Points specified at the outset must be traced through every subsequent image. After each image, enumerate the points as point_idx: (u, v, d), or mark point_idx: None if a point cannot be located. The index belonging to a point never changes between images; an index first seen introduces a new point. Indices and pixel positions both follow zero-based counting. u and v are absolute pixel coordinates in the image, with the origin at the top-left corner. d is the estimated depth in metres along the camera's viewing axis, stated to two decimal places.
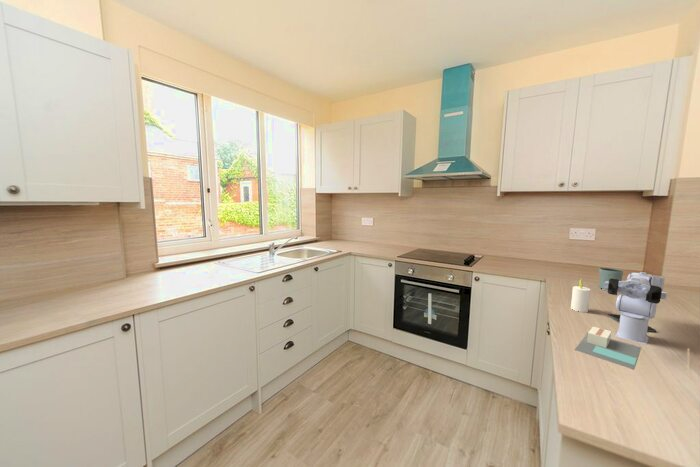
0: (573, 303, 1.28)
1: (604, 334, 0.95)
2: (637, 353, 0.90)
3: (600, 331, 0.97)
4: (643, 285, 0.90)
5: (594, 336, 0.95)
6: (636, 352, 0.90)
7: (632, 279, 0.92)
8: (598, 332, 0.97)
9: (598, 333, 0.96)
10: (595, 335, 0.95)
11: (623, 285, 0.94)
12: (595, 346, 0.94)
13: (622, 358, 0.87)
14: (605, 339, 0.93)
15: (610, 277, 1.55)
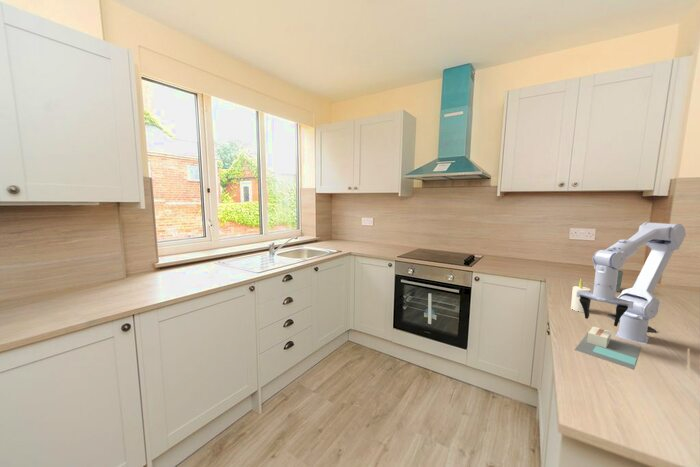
0: (573, 303, 1.28)
1: (604, 334, 0.95)
2: (637, 353, 0.90)
3: (600, 331, 0.97)
4: None
5: (594, 336, 0.95)
6: (636, 352, 0.90)
7: None
8: (598, 332, 0.97)
9: (598, 333, 0.96)
10: (595, 335, 0.95)
11: None
12: (595, 346, 0.94)
13: (622, 358, 0.87)
14: (605, 339, 0.93)
15: None
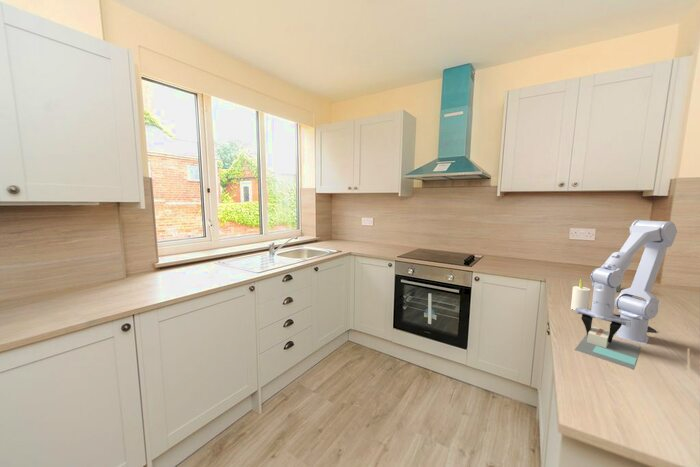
0: (573, 303, 1.28)
1: (604, 334, 0.95)
2: (637, 353, 0.90)
3: (600, 331, 0.97)
4: None
5: (594, 336, 0.95)
6: (636, 352, 0.90)
7: None
8: (598, 332, 0.97)
9: (598, 333, 0.96)
10: (595, 335, 0.95)
11: None
12: (595, 346, 0.94)
13: (622, 358, 0.87)
14: (605, 339, 0.93)
15: None
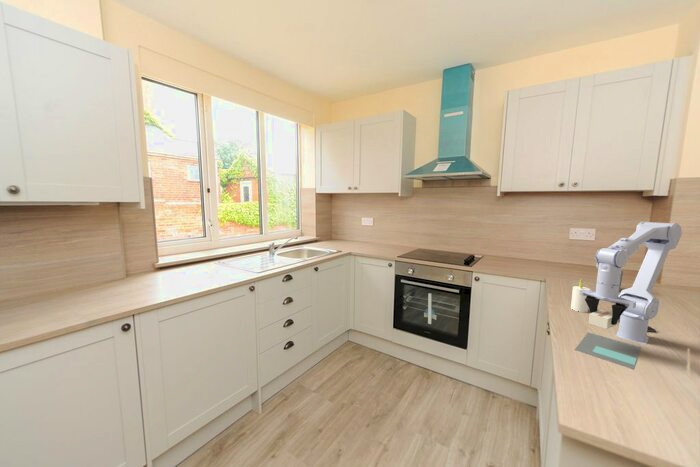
0: (573, 303, 1.28)
1: (607, 316, 0.93)
2: (637, 353, 0.90)
3: (605, 313, 0.95)
4: None
5: (596, 317, 0.94)
6: (636, 352, 0.90)
7: None
8: (602, 314, 0.95)
9: (601, 314, 0.94)
10: (596, 316, 0.94)
11: None
12: (595, 346, 0.94)
13: (622, 358, 0.87)
14: (606, 320, 0.91)
15: None
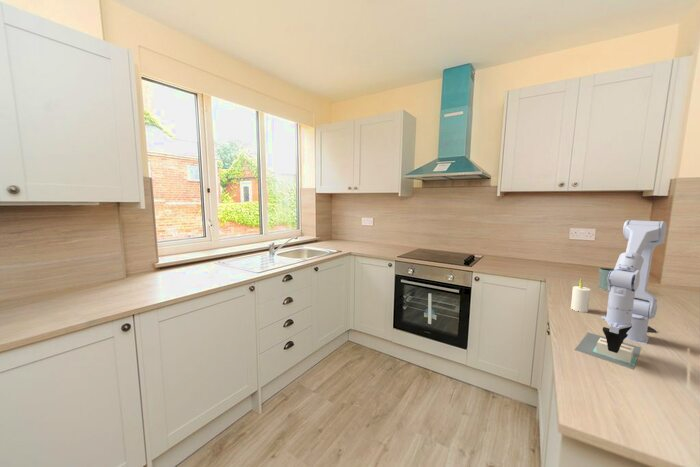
0: (573, 303, 1.28)
1: None
2: (637, 353, 0.90)
3: None
4: None
5: None
6: (636, 352, 0.90)
7: None
8: None
9: (606, 341, 0.90)
10: (599, 340, 0.92)
11: None
12: (595, 346, 0.94)
13: None
14: (597, 343, 0.90)
15: None
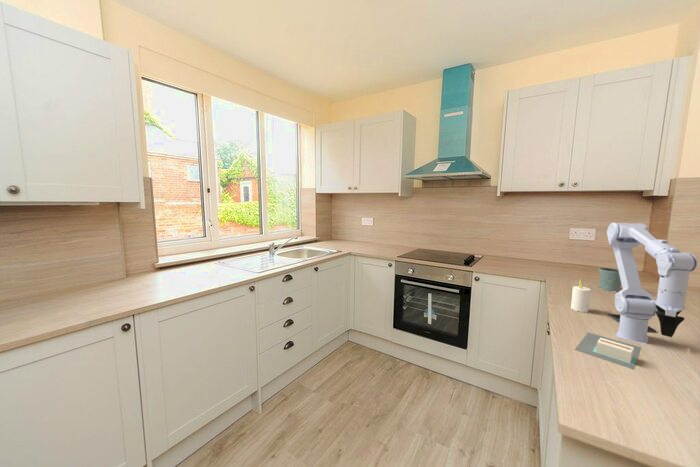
0: (573, 303, 1.28)
1: (608, 344, 0.89)
2: (637, 353, 0.90)
3: (617, 345, 0.88)
4: None
5: None
6: (636, 352, 0.90)
7: None
8: (610, 342, 0.89)
9: (606, 341, 0.90)
10: (599, 340, 0.92)
11: None
12: (595, 346, 0.94)
13: None
14: (597, 343, 0.90)
15: (610, 277, 1.55)
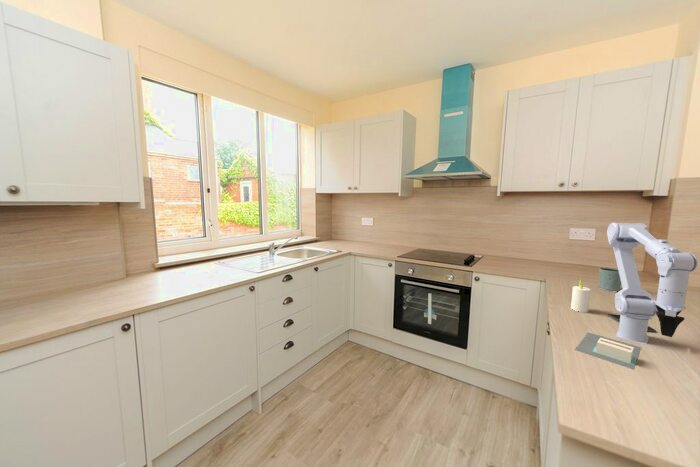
0: (573, 303, 1.28)
1: (608, 344, 0.89)
2: (637, 353, 0.90)
3: (617, 345, 0.88)
4: None
5: None
6: (636, 352, 0.90)
7: None
8: (610, 342, 0.89)
9: (606, 341, 0.90)
10: (599, 340, 0.92)
11: None
12: (595, 346, 0.94)
13: None
14: (597, 343, 0.90)
15: (610, 277, 1.55)
